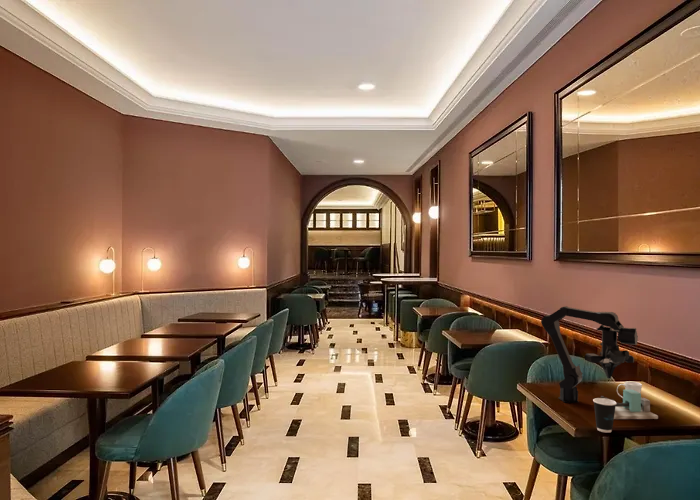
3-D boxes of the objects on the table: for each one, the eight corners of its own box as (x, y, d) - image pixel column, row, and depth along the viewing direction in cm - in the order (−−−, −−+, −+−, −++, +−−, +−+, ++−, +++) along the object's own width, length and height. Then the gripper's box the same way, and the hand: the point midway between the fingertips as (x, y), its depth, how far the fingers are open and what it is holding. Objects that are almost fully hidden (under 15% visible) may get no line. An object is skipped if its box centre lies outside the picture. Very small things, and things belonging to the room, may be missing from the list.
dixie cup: (611, 435, 183) (611, 405, 183) (589, 429, 189) (589, 400, 189) (619, 430, 188) (620, 401, 188) (597, 424, 194) (598, 396, 194)
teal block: (631, 411, 206) (631, 393, 206) (622, 407, 212) (623, 389, 211) (640, 411, 206) (641, 393, 206) (632, 407, 212) (632, 389, 212)
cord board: (614, 419, 201) (614, 404, 201) (595, 407, 215) (595, 393, 215) (657, 418, 202) (658, 403, 202) (636, 407, 216) (636, 393, 216)
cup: (642, 404, 221) (642, 386, 221) (616, 400, 225) (616, 383, 225) (641, 400, 227) (641, 382, 227) (616, 396, 232) (616, 379, 232)
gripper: (598, 345, 206) (597, 383, 206) (642, 345, 207) (641, 383, 207) (584, 340, 217) (583, 376, 217) (626, 340, 218) (625, 376, 218)
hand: (608, 378), depth 214 cm, fingers closed
